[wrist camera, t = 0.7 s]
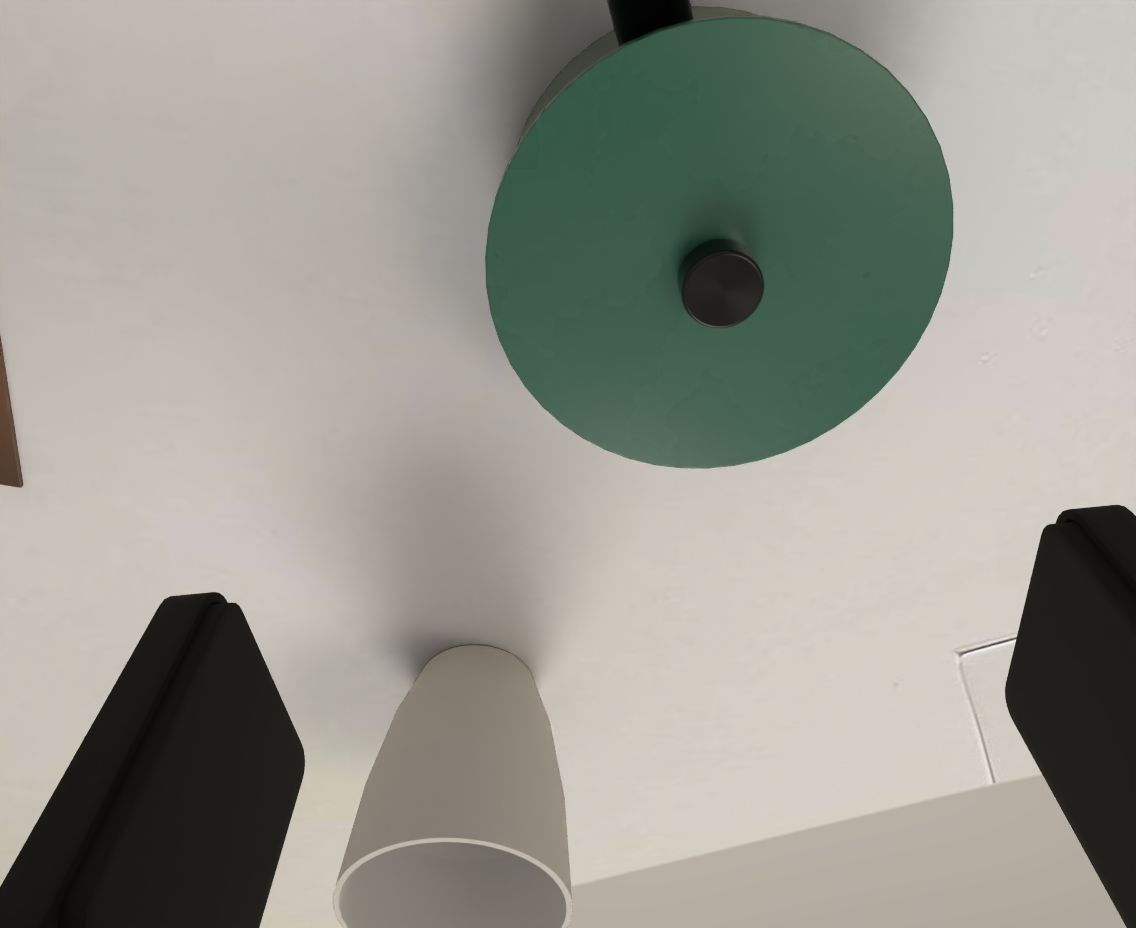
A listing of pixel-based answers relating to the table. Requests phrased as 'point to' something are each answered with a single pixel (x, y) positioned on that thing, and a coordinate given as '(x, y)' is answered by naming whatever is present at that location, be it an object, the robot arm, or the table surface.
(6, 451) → the trivet
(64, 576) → the table surface
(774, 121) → the saucepan
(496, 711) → the cup
